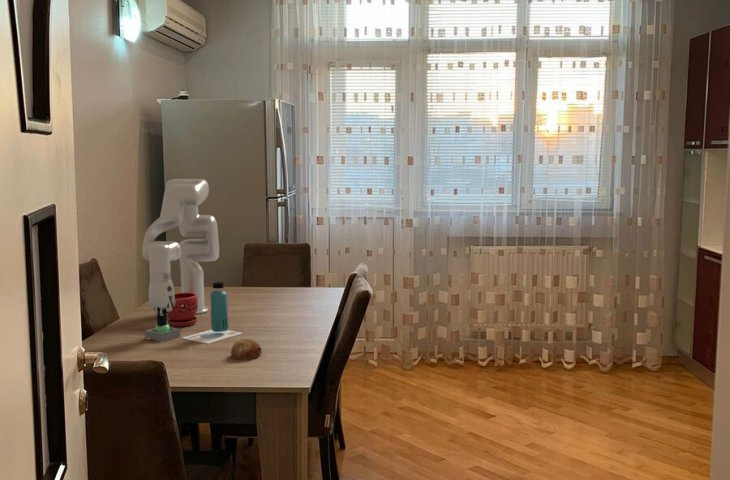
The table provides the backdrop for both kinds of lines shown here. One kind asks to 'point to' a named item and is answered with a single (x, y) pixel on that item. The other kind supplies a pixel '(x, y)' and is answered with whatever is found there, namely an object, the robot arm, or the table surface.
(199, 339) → the drawing sheet
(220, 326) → the beverage bottle
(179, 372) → the table surface
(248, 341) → the bread roll
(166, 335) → the button housing
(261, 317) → the table surface
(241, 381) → the table surface
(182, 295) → the plant pot
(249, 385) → the table surface
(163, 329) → the button
